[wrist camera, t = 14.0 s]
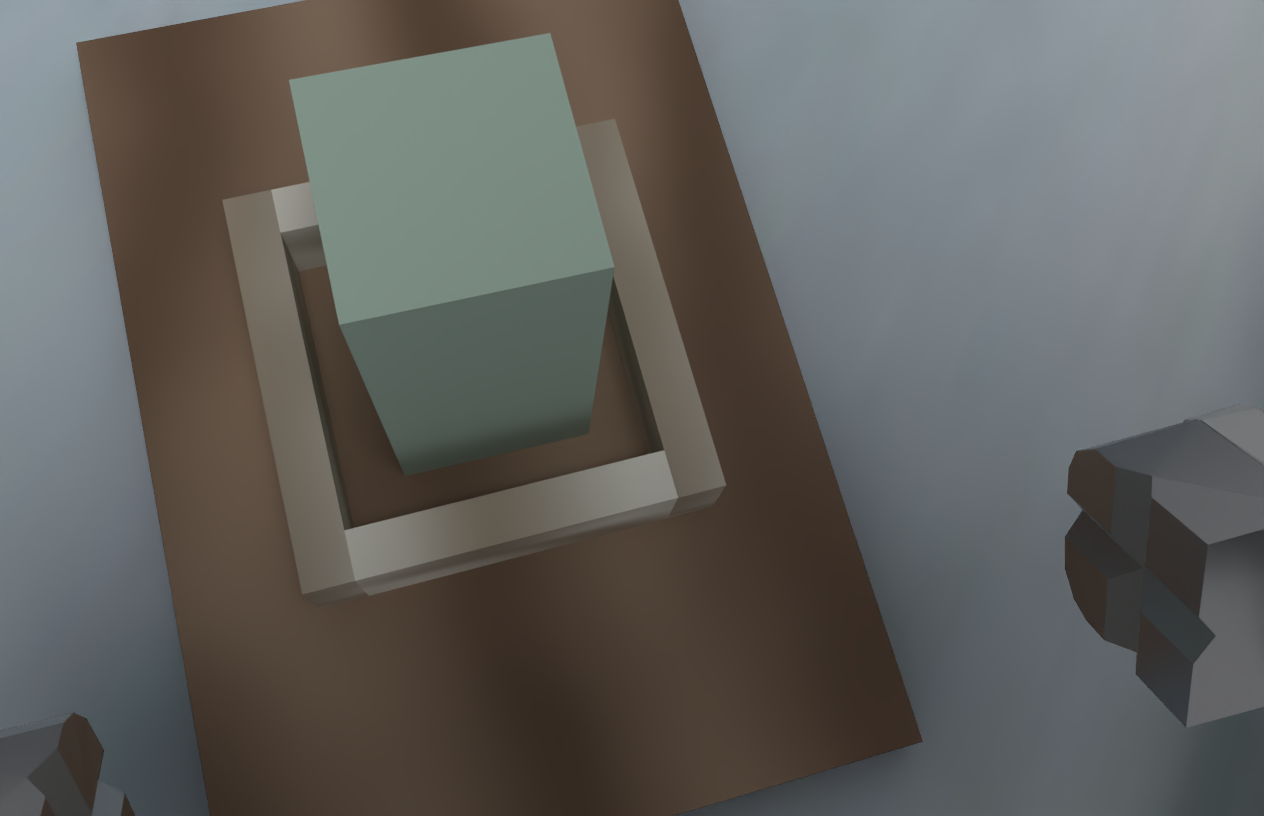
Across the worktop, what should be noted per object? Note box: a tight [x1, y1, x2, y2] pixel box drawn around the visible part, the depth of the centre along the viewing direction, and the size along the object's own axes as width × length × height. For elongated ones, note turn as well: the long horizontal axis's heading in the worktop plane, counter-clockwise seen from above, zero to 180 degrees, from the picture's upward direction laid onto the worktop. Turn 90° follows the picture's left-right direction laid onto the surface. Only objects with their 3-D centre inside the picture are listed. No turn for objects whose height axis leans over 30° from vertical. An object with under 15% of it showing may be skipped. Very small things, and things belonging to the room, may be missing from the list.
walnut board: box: [76, 0, 923, 816], centre depth 26 cm, size 14×20×3 cm
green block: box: [289, 33, 614, 476], centre depth 22 cm, size 4×4×9 cm
